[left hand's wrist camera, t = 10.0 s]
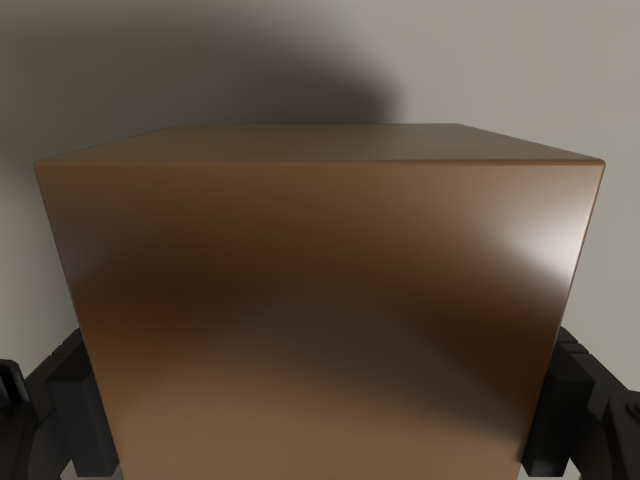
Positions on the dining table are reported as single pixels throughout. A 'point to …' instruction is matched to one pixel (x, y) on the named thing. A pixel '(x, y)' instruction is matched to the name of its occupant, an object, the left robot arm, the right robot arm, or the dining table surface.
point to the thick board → (319, 295)
